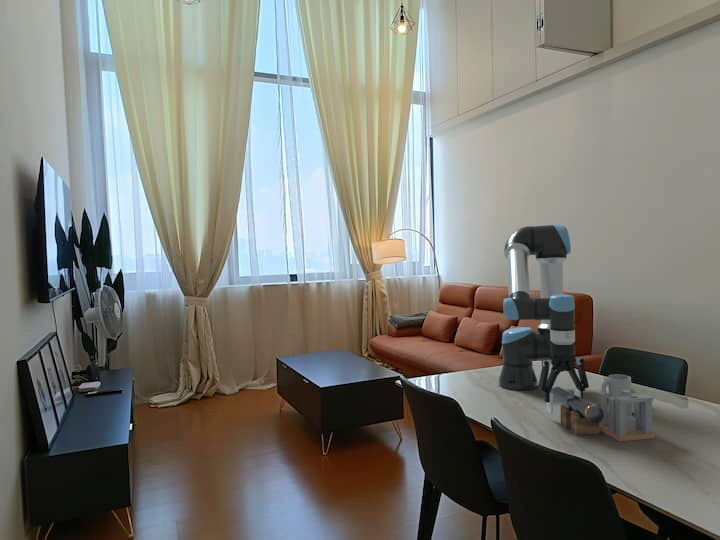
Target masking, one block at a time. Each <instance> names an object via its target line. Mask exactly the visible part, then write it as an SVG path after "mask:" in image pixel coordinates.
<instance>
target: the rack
mask: <svg viewBox="0 0 720 540" xmlns="http://www.w3.org/2000/svg"><path fill="white" fill-rule="evenodd" d="M559 411H560V426H562V427H564V428H565V429H570V432H571V433H573V434H574V435H576V436H581V435H591V434H593V435H594V434H600V429H599V422H598V423H594V422H592V421H590V420H588V419H587V418H585V417H583V416H582V415H580V414H579V413H577V412H576V411H573V410H571V409H569V407H567V406H565V405H562V404H560V410H559Z"/></svg>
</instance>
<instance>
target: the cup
mask: <svg viewBox="0 0 720 540" xmlns="http://www.w3.org/2000/svg"><path fill="white" fill-rule="evenodd" d="M624 385H628V386H624ZM607 386H608V392H607ZM621 388H622V389H624V390H628V391H630V388H632V377H631V376H628V375H626V374H618V373H617V374H609V375H608V379H606V380H603V382H602V384H601V391H600V392H604V393H606V394H607V399H608V398H612V397H621V390H619V389H621Z"/></svg>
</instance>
